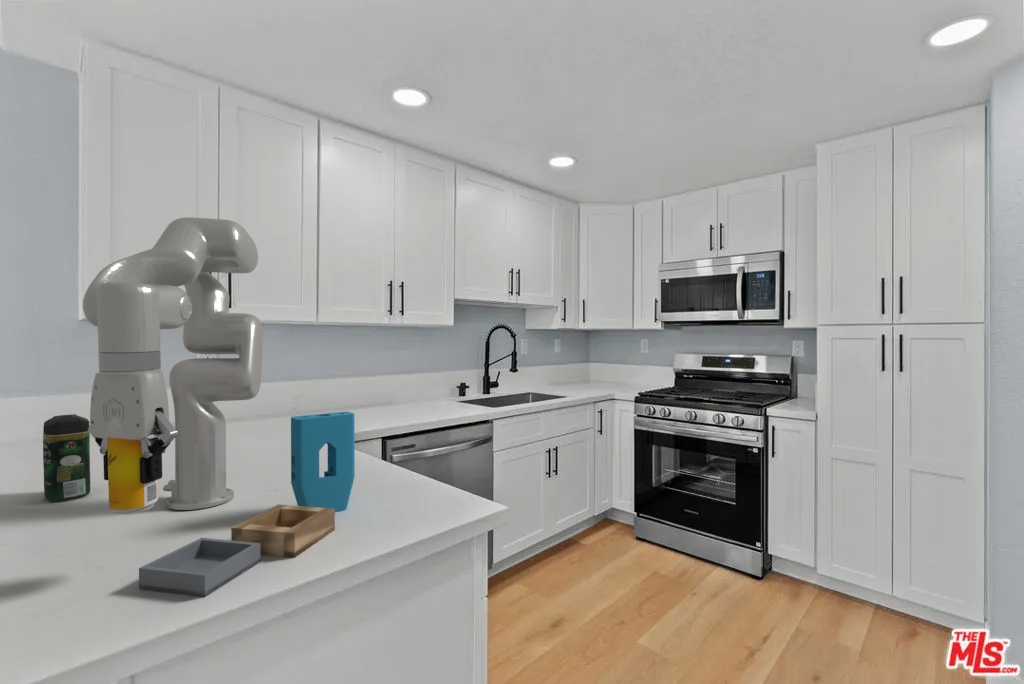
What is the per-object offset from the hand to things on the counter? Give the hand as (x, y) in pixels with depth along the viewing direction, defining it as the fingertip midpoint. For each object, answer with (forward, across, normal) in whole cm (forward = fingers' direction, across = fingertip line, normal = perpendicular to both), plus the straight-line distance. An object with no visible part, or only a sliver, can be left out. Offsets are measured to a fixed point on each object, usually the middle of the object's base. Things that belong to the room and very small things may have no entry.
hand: (133, 478), depth 76 cm
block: (+15, +14, +30) cm, 36 cm away
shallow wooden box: (+15, +16, +15) cm, 26 cm away
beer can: (+5, 0, 0) cm, 5 cm away
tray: (+14, +12, +1) cm, 19 cm away
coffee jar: (+17, -49, +26) cm, 58 cm away
